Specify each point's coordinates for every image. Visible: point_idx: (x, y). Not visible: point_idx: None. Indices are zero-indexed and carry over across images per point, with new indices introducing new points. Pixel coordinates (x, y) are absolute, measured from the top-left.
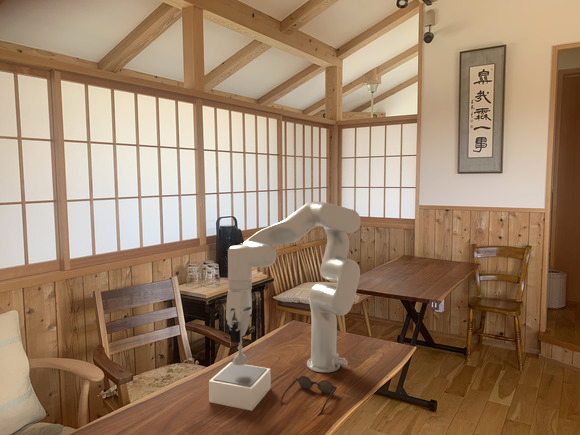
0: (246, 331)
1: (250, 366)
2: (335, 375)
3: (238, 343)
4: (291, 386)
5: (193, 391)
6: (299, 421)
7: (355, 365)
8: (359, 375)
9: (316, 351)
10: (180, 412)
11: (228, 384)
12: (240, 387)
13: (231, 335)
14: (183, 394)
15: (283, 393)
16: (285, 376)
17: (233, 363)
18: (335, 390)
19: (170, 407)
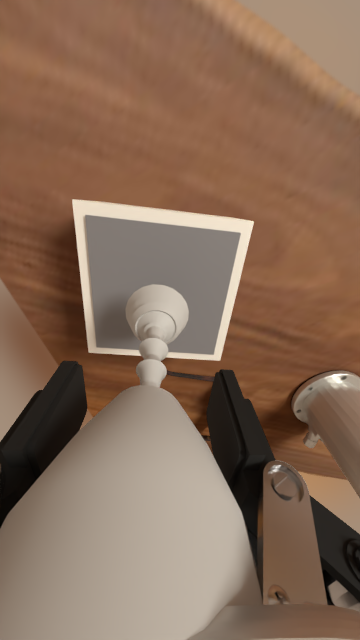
0: (212, 428)
1: (220, 308)
2: (281, 417)
3: (143, 360)
4: (205, 377)
5: (139, 103)
6: (107, 400)
7: None
8: (282, 444)
9: (332, 425)
10: (2, 129)
11: (82, 283)
12: (85, 321)
13: (40, 402)
14: (106, 67)
15: (168, 373)
16: (273, 343)
17: (131, 296)
18: (206, 436)
19: (5, 62)
